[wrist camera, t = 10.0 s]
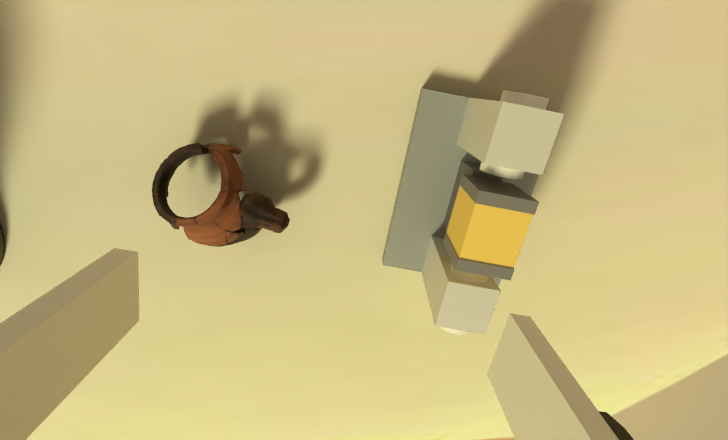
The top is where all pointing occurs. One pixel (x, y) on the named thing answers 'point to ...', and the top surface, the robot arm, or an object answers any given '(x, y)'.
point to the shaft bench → (430, 179)
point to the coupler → (488, 226)
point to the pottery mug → (218, 201)
